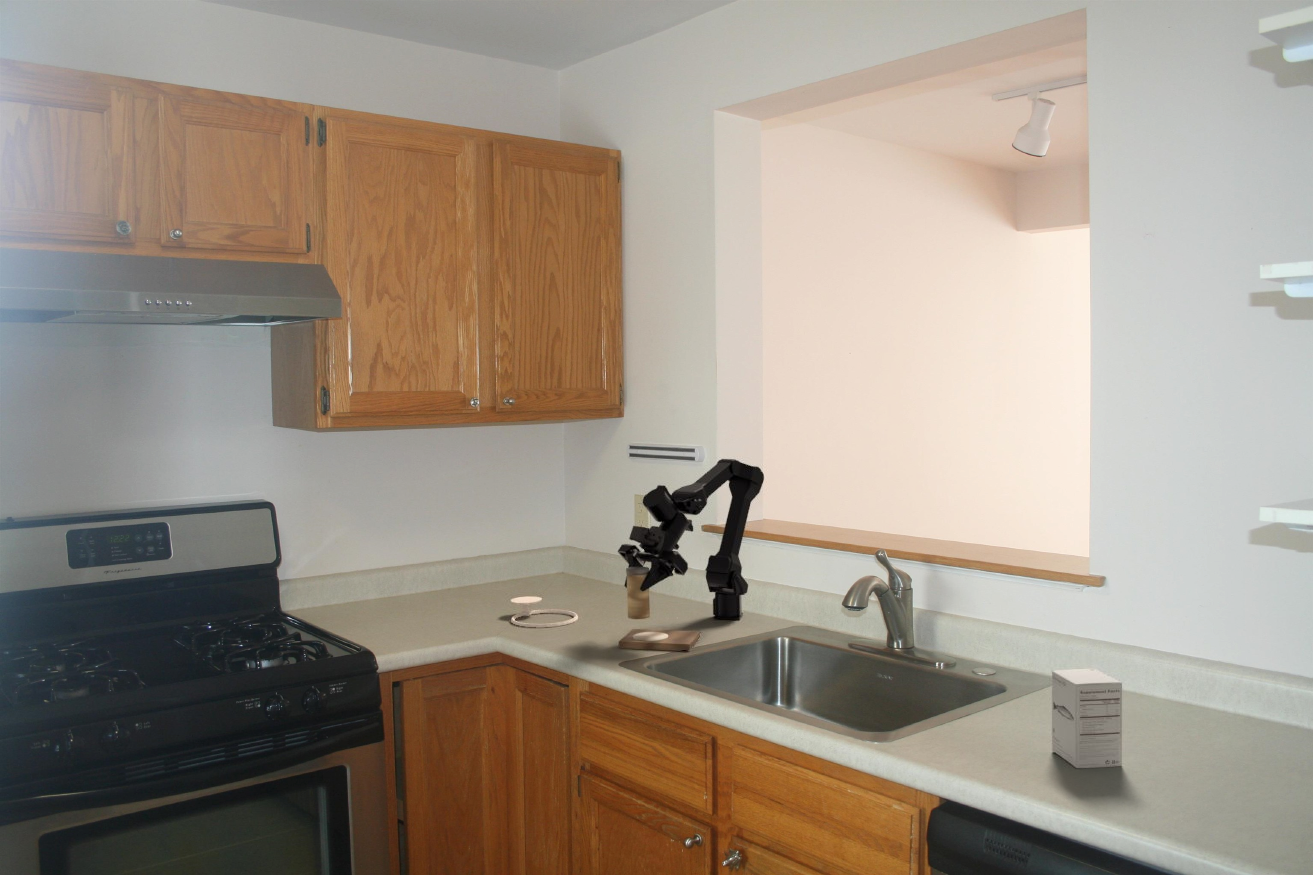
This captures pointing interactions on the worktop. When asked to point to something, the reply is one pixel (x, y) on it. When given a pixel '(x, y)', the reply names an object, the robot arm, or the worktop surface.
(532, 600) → the hand towel holder
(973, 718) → the worktop surface
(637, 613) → the tan jar with lid
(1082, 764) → the supplement box
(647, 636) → the walnut board
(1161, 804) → the worktop surface
